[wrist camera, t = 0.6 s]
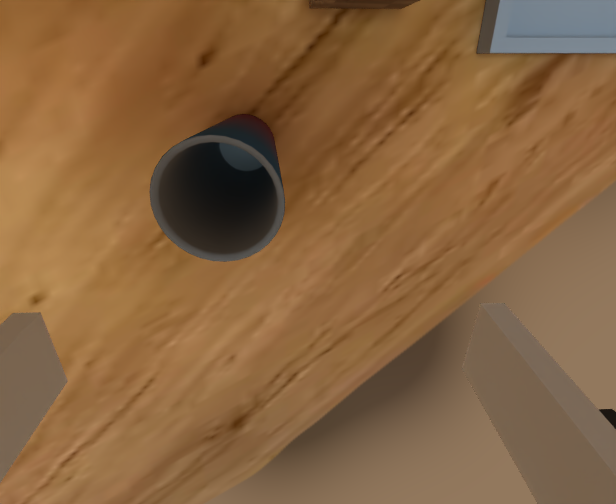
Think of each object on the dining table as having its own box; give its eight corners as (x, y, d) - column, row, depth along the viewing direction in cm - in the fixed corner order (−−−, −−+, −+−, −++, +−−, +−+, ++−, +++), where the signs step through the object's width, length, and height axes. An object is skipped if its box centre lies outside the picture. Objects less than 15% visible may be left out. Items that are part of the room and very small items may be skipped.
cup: (291, 111, 31) (295, 149, 18) (278, 188, 34) (274, 270, 21) (209, 95, 30) (149, 121, 17) (203, 175, 33) (148, 252, 20)
